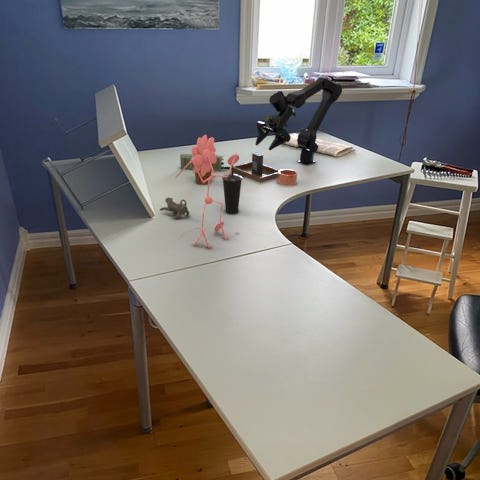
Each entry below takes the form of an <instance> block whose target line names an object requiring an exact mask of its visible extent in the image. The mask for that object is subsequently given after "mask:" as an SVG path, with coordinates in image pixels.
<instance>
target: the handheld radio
mask: <svg viewBox="0 0 480 480" xmlns="http://www.w3.org/2000/svg"><path fill="white" fill-rule="evenodd" d="M216 158H217V162H216V163H214V164H212V167H213V170H214V172H224V170H226V171H227V170H228V171H229V169H230V166H223V165H225V162H224V155H216ZM179 159H180V169H181V170H182V169H183V168H184V167H185V166H186V165H187V164H188V163H189V162H190V161H191V159H192V153H180V154H179ZM193 168H194V165H193V164H192V162H191V163H190V164H189V165H188V166H187V167H186V168H185V169H184V170H193Z"/></svg>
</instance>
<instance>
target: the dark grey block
mask: <svg viewBox="0 0 480 480" xmlns="http://www.w3.org/2000/svg"><path fill="white" fill-rule="evenodd" d="M251 162H252V173H253V174H255V175H258V176H259V175H262V172H263V165H264V154H261V153H259V152H253V153H251Z"/></svg>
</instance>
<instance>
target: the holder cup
mask: <svg viewBox="0 0 480 480" xmlns="http://www.w3.org/2000/svg"><path fill="white" fill-rule="evenodd" d="M297 181H298V171H296V170H295V169H289V168H283V169H280V171H279V173H278V178H277V183H278V184H279V185H281V186H294V185H296V184H297Z"/></svg>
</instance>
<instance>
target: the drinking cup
mask: <svg viewBox="0 0 480 480" xmlns="http://www.w3.org/2000/svg"><path fill="white" fill-rule="evenodd" d="M233 167H234V165H233V166H232V168H231V171H230V173H229V175H228V176H227V174H225V175H224V174H223V176H227V177H228V178H225V177H221V179H222V185H223V195H224V198H223V199H224V205H225V206H224V207H225V214H228V215H236V214H238V213H239V207H240V197H241V188H242V181H243V177H242V176H240V175H237V174H234V173H233Z"/></svg>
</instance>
